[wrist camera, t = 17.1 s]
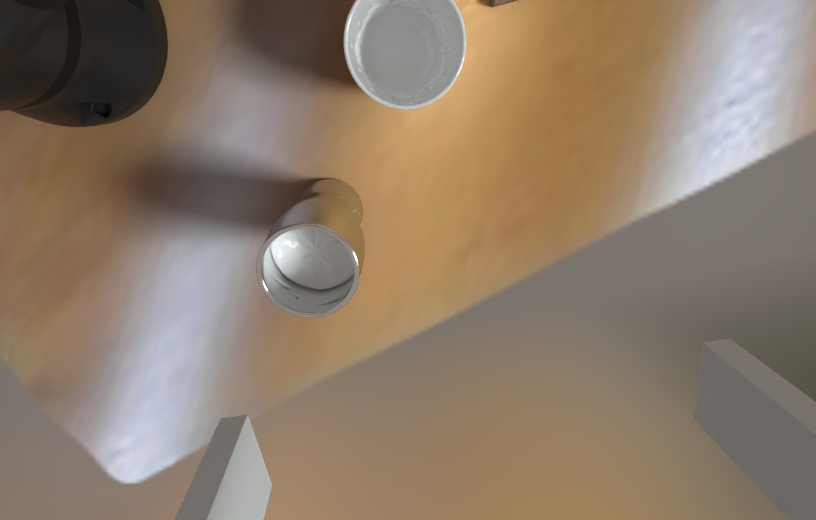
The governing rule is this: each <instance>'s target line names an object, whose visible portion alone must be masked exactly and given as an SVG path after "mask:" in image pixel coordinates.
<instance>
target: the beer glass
mask: <svg viewBox="0 0 816 520" xmlns="http://www.w3.org/2000/svg"><path fill="white" fill-rule="evenodd" d="M362 218H363V206H362V202H361V199H360V197H359V195H358V194H357V193H356V191H355V190H354V189H353V188H352V187H351V186H349V185H348V184H346V183H344V182H342V181H339V180H335V179H322V180H319V181H316V182H314V183H312V184H310V185H309V186H308V187H307V188H306V189H305V190H304V191H303V193H302V194H301V196H300V198H299V201H298V202H297V203H295V204H294V205H292V206H291V207H289V208H288V209H287V210H285V211H284V212H283V213H282V214H281V216H280V217H279V218H278V219H277V220H276V221H275V223H274V224H273V226H272V228H271V229H270V231H269V233H268V235H267V237H266V239H265V242H264V244H263V246H262V247H261V249H260V252H259V254H258V258H257V263H256V273H257V278H258V282H259V285H260V287H261V289H262V291H263V292H264V294H265V295H266V297H267V298H268V299H269V300H270V301H271V302H272V303H273V304H274V305H276V306H277V307H278V308H280V309H281V310H283V311H285V312H287V313H290V314H292V315H296V316H300V317H321V316H325V315H329V314H331V313H334V312H336V311H337V310H339V309H340V308H342V307H343V306H344V305H346V304H347V303H348V301H349V300H350V299H351V298H352V296H353V295H354V293H355V291H356V289H357V286H358V283H359V277H360V274H361V271H362V267H363V262H364V255H365V241H364V235H363V232H362V228H361V225H360V224H361V221H362Z"/></svg>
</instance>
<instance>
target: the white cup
mask: <svg viewBox="0 0 816 520" xmlns="http://www.w3.org/2000/svg"><path fill="white" fill-rule="evenodd" d="M343 45H344V54H345V59H346V62H347V66H348V68H349V71H350V73H351V75H352V77H353V78H354V80H355V82H356V83H357V84H358V86H359V87H360V88H361V89H362V90H363V91H364V92H365V93H366V94H367V95H368V96H369V97H370V98H372V99H373V100H375V101H376V102H378V103H380V104H382V105H385V106H387V107H391V108H395V109H415V108H420V107H423V106H426V105H428V104H430V103H432V102H434V101H436V100H437V99H439V98H440V97H441V96H442V95H444V94H445V93H446V92H447V91H448V90H449V88H450V87H451V86H452V85H453V83H454V82H455V80H456V79H457V77H458V75H459V73H460V71H461V68H462V65H463V62H464V58H465V52H466V32H465V26H464V22H463V19H462V16H461V13H460V11H459V9H458V7H457V5H456V4H455V2H454V1H453V0H356V1H355V2H354V4H353V6H352V7H351V9H350V12H349V14H348V17H347V20H346V24H345V28H344V38H343Z"/></svg>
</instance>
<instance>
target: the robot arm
mask: <svg viewBox="0 0 816 520" xmlns="http://www.w3.org/2000/svg"><path fill="white" fill-rule="evenodd" d="M167 51H168V41H167V30H166V24H165V19H164V16H163V12H162V9H161V6H160V3H159V1H158V0H0V111H2V110H10V111H13V112H16V113H19V114H22V115H25V116H28V117H31V118H34V119H37V120H40V121H43V122H46V123H50V124H54V125H60V126H69V127H88V126H96V125H102V124H108V123H112V122H116V121H119V120H122V119H124V118H126V117H128V116H130V115H132V114H133V113H135V112H136V111H138V110H139V109H140V108H142V107H143V106H144V105H145V104H146V103H147V102H148V101H149V99H150V98H151V97H152V96H153V94H154V93H155V91H156V90H157V88H158V86H159V84H160V82H161V79H162V76H163V73H164V70H165V66H166V60H167ZM694 419H695V420H696V421H697V422H698V424H699V425H700V426H701V427H702V428H703V429H704V430H705V431H706V432H707V433H708V434H709V435H710V437H711V438H713V440H714V441H715V442H716V443H717V444H718V445H719V446H720V447H721V448H722V449H723V450H724V452H725V453H726V454H727V455H728V456H729V457H730V458H731V459H732V460H733V461H734V462H735V463H736V464H737V466H739V468H740V469H741V470H742V471H743V472H744V473H745V474H746V475H747V476H748V477H749V478H750V479H751V481H752V482H753V483H755V485H756V486H757V487H758V488H759V489H760V490H761V491H762V492H763V493H764V495H766V497H767V498H768V499H769V500H770V501H771V502H772V503H773V504H774V505H775V506H776V507H777V508H778V510H779V511H780V512H781V513H782V514H783V515H784V516H785V517H786V518H787V519H788V520H816V402H815V401H813V400H812V399H810V398H809V397H808V396H806V395H805V394H804V393H802V392H801V391H800V390H798V389H797V388H796V387H794V386H793V385H792V384H790V383H789V382H787V381H786V380H785V379H783V378H782V377H781V376H779V375H778V374H777V373H775V372H774V371H773V370H771V369H770V368H768V367H767V366H766V365H764V364H763V363H762V362H760V361H759V360H758V359H756V358H755V357H754V356H752V355H751V354H750V353H748V352H747V351H745V350H744V349H743V348H741V347H740V346H739V345H737V344H736V343H735V342H733V341H732V340H730V339H723V340H717V341H711V342H704V343H703V346H702V355H701V363H700V372H699V381H698V389H697V398H696V407H695V415H694ZM271 488H272V484H271V481H270V479H269V475H268V473H267V470H266V467H265V464H264V461H263V458H262V455H261V452H260V449H259V446H258V443H257V440H256V438H255V435H254V432H253V429H252V426H251V423H250V420H249V417H248V414H247V415H241V416H235V417H228V418H222V419H221V420H220V422H219V424H218V426H217V428H216V430H215V433H214V435H213V437H212V439H211V441H210V443H209V446H208V448H207V450H206V452H205V454H204V456H203V459H202V461H201V463H200V465H199V467H198V469H197V472H196V474H195V476H194V478H193V480H192V482H191V485H190V487H189V489H188V491H187V493H186V495H185V498H184V500H183V502H182V504H181V506H180V508H179V511H178V513H177V515H176V517H175V519H174V520H263V518H264V515H265V511H266V507H267V503H268V499H269V495H270V492H271Z"/></svg>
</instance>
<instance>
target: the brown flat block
mask: <svg viewBox="0 0 816 520" xmlns="http://www.w3.org/2000/svg"><path fill="white" fill-rule="evenodd" d="M513 1H517V0H491V6H492V7H495V6H499V5H502V4H506V3H510V2H513Z"/></svg>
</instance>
